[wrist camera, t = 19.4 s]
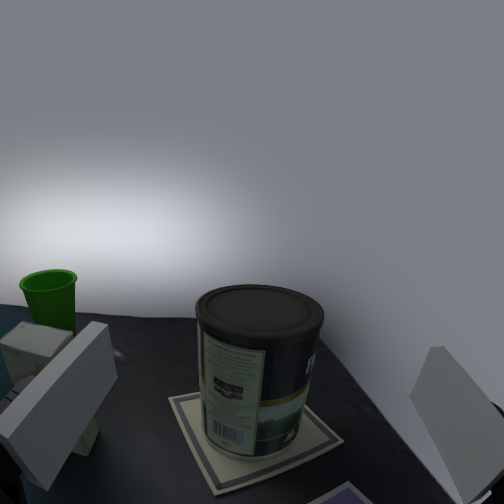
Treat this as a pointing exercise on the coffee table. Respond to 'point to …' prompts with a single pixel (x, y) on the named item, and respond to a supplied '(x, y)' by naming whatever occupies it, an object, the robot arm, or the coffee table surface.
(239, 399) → the coffee can
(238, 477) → the cream square tile
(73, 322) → the cup
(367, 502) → the ink pad
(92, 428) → the skincare box
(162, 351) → the coffee table surface
